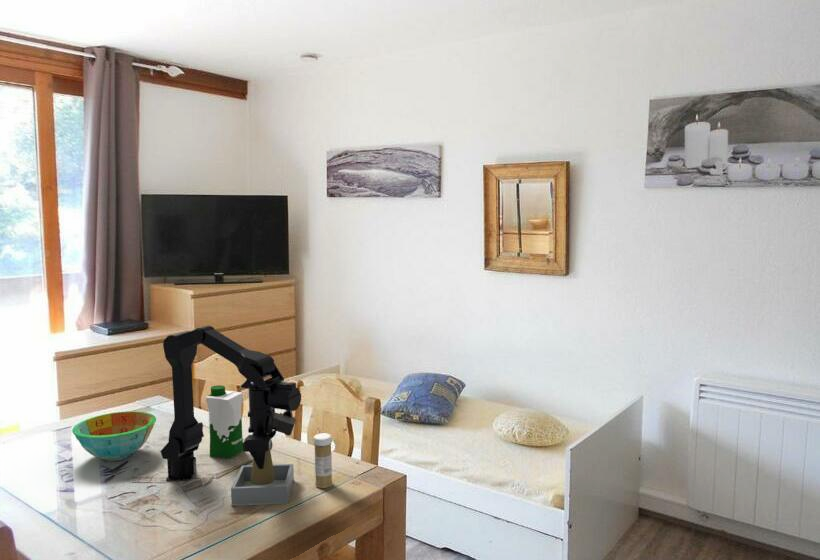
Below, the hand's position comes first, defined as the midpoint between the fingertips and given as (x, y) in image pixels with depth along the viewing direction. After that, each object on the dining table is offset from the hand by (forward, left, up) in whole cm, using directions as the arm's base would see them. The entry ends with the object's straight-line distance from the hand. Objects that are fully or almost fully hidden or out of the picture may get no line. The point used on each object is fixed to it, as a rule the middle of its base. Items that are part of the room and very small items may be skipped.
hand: (262, 464), depth 162 cm
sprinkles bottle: (+15, +3, -8) cm, 17 cm away
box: (0, 0, -7) cm, 7 cm away
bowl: (-47, +28, -8) cm, 55 cm away
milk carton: (-15, +27, -8) cm, 32 cm away
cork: (0, 0, -4) cm, 4 cm away
